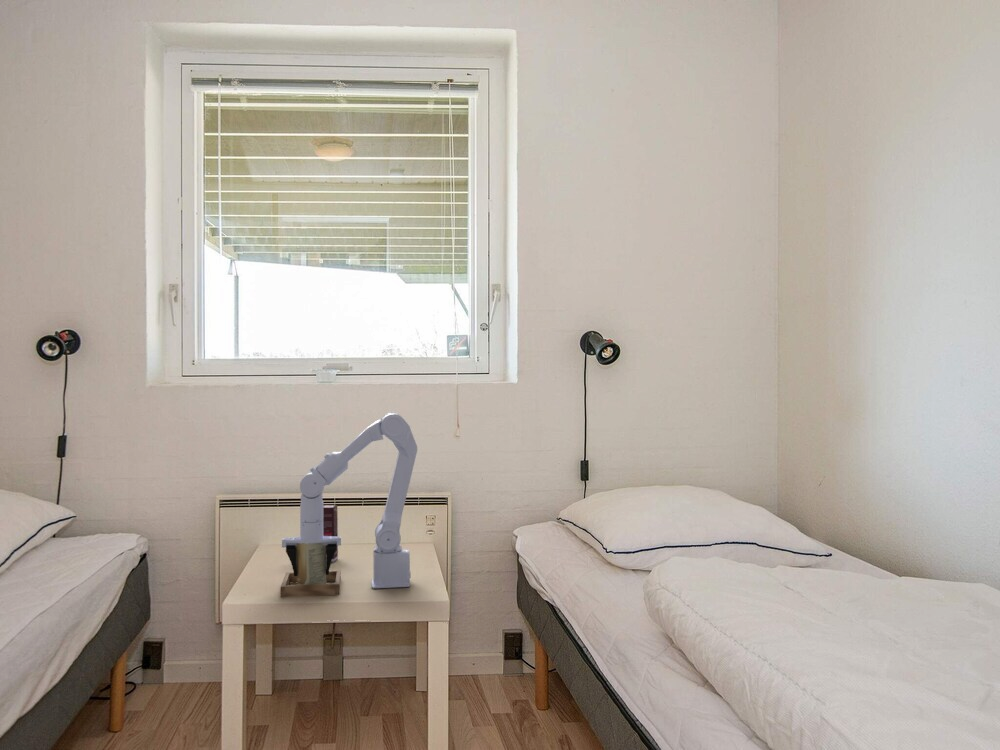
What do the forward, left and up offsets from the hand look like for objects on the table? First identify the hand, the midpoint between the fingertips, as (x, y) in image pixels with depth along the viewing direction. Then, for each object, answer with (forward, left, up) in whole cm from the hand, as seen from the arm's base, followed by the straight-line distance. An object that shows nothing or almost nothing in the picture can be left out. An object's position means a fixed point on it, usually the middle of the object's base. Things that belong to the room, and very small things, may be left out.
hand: (311, 574), depth 194 cm
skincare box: (0, 0, -4) cm, 4 cm away
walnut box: (0, 0, -3) cm, 3 cm away
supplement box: (-1, -30, -4) cm, 30 cm away
